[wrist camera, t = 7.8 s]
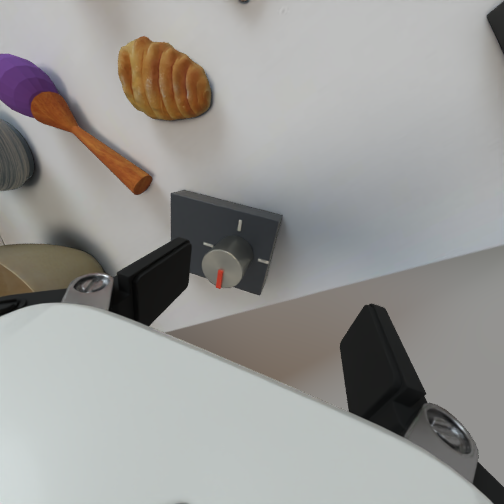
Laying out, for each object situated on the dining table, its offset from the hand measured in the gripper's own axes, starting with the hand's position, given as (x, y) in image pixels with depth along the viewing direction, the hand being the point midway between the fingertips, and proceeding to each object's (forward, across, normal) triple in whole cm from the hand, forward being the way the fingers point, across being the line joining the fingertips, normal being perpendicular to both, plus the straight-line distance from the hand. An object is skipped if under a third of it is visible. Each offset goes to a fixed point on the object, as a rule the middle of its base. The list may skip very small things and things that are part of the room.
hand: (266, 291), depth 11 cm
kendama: (+17, +29, -3) cm, 34 cm away
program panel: (+17, +8, +6) cm, 19 cm away
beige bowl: (+17, +35, +22) cm, 45 cm away
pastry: (+17, +18, -10) cm, 26 cm away
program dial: (+14, +6, +6) cm, 16 cm away
